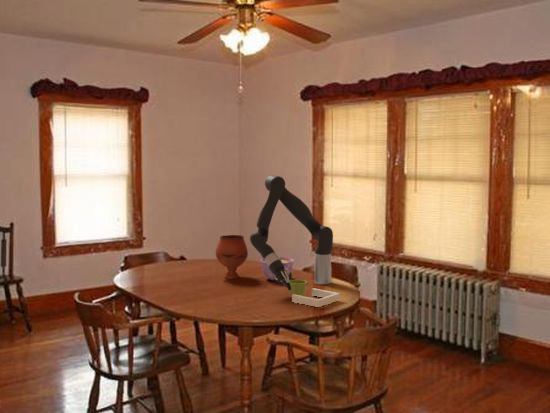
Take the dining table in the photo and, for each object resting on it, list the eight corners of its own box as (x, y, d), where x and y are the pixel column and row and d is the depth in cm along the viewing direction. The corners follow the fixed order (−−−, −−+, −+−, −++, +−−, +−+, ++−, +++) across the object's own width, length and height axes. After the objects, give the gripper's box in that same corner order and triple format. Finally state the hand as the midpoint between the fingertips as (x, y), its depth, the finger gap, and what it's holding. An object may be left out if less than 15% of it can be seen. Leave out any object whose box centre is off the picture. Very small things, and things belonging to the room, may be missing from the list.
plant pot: (292, 300, 286) (292, 284, 286) (286, 296, 295) (286, 280, 294) (309, 299, 289) (309, 282, 289) (302, 295, 298) (303, 278, 297)
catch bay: (313, 295, 297) (313, 288, 297) (339, 301, 286) (339, 293, 286) (292, 302, 283) (292, 294, 283) (318, 308, 273) (318, 300, 272)
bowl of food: (290, 283, 324) (290, 264, 323) (256, 282, 328) (256, 262, 327) (296, 276, 343) (296, 257, 342) (264, 274, 347) (264, 256, 346)
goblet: (249, 274, 349) (249, 234, 347) (245, 281, 330) (245, 238, 327) (219, 273, 351) (219, 233, 348) (212, 280, 332) (212, 238, 329)
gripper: (269, 260, 294) (287, 287, 287) (286, 257, 304) (303, 283, 297) (262, 269, 298) (279, 296, 291) (278, 265, 308) (295, 291, 301)
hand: (291, 289), depth 294 cm, fingers closed
